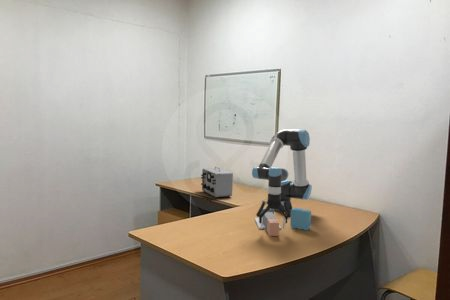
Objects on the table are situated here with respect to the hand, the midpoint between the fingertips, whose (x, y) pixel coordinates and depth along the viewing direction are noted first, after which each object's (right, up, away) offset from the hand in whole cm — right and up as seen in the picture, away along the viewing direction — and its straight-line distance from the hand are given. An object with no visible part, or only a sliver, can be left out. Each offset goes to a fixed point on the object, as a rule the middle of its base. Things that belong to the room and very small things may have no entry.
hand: (272, 228), depth 198 cm
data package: (+19, -3, +13) cm, 24 cm away
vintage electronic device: (-37, +6, +104) cm, 111 cm away
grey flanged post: (-1, -2, +17) cm, 18 cm away
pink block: (0, -3, +1) cm, 3 cm away
